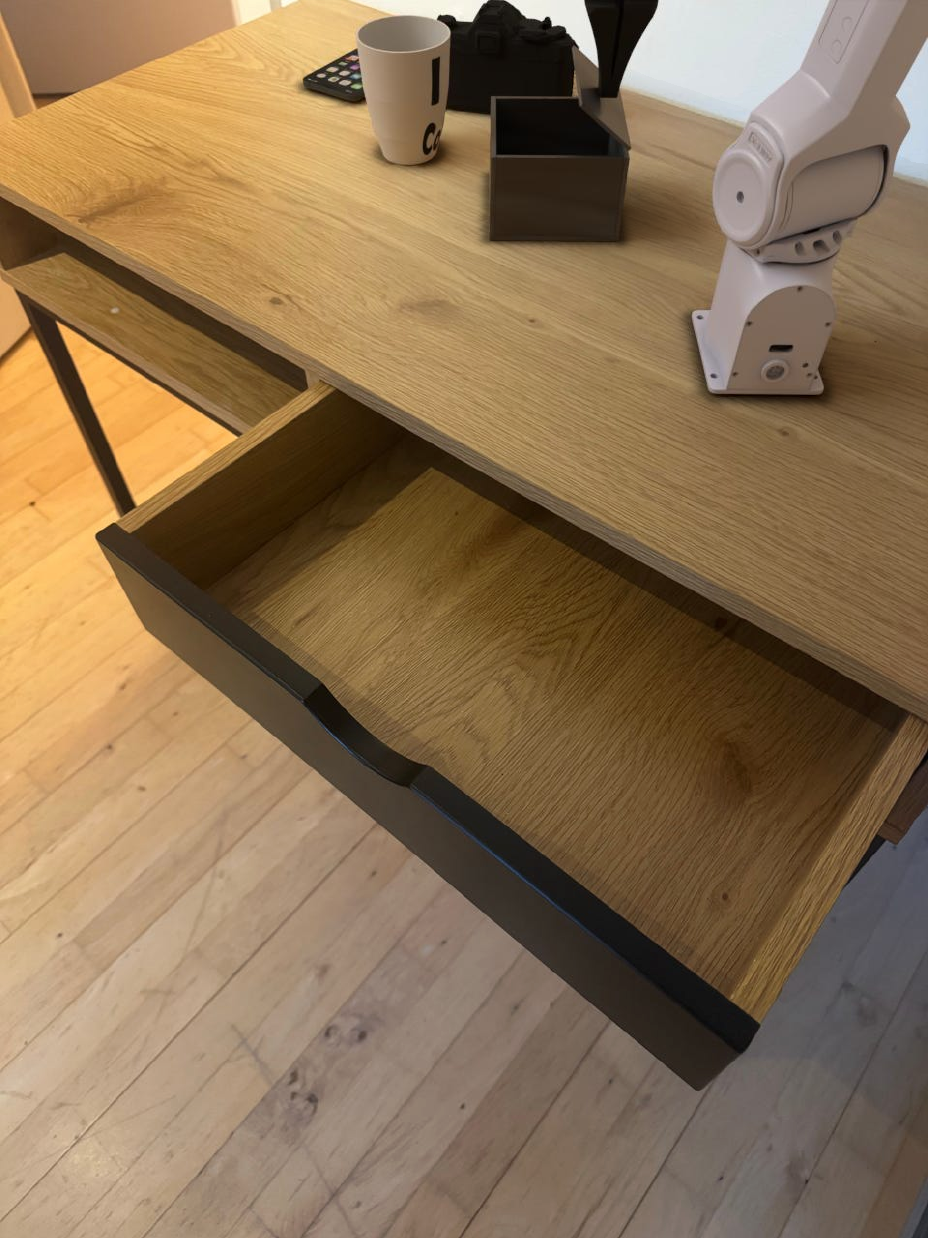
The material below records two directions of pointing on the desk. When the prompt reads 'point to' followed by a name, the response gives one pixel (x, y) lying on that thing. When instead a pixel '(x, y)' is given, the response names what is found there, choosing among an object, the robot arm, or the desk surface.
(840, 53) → the robot arm
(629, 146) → the flap
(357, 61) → the smartphone
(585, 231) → the carton
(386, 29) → the cup
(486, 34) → the film camera
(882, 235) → the desk surface
